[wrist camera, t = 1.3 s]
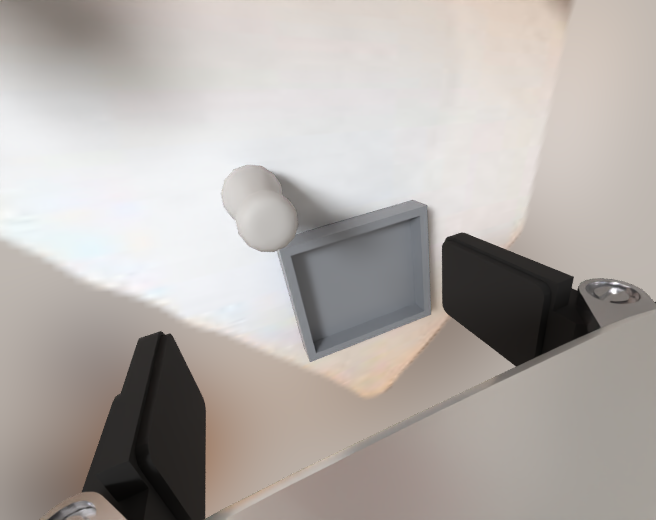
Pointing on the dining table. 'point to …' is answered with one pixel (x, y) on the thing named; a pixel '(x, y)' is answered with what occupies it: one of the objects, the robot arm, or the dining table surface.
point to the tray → (358, 277)
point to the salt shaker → (259, 208)
